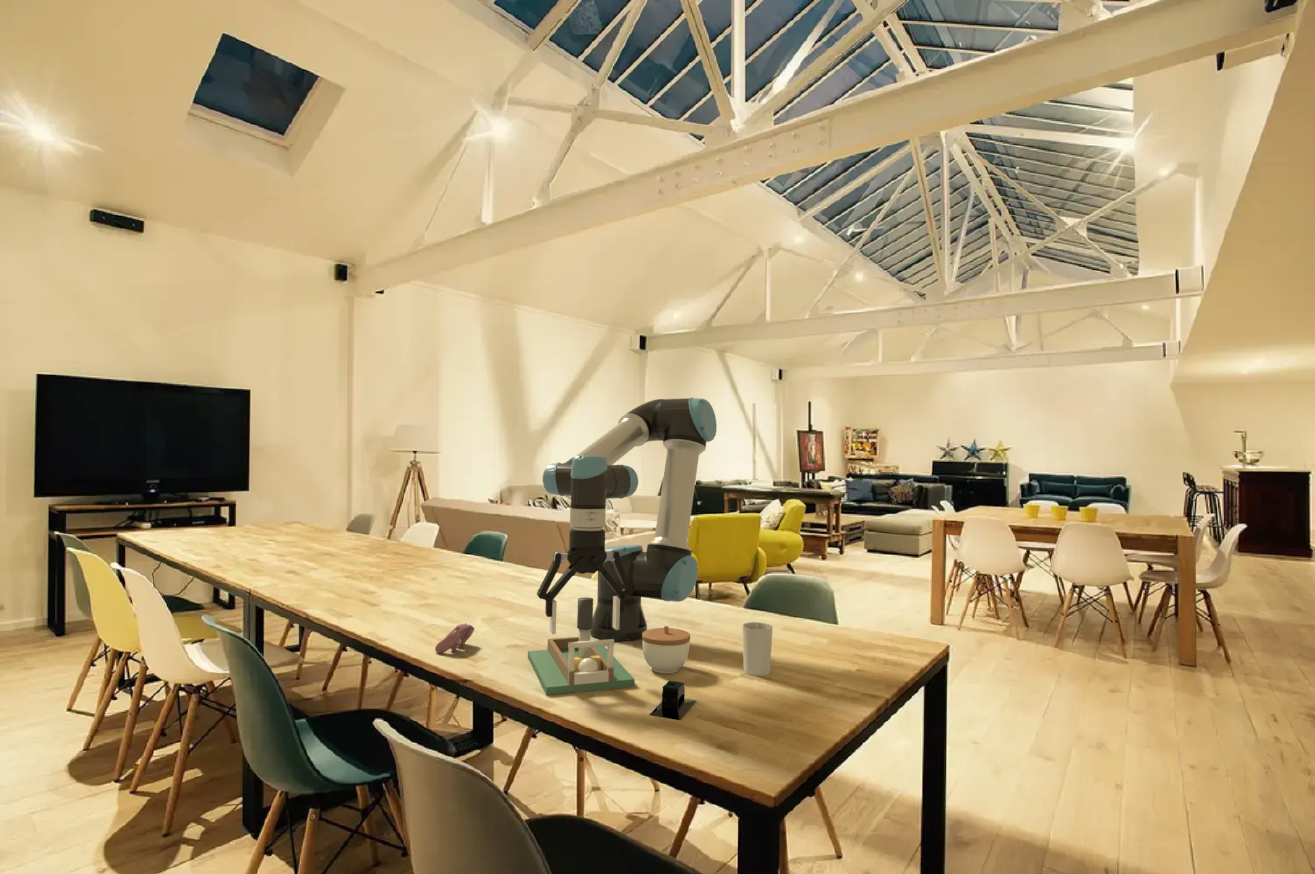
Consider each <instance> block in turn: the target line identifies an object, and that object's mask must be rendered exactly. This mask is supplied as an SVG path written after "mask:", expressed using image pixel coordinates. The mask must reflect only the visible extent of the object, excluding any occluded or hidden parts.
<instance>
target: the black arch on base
mask: <svg viewBox="0 0 1315 874" xmlns="http://www.w3.org/2000/svg"><path fill="white" fill-rule="evenodd" d="M685 691H686V690H685V682H682V681H675V680H668V681H667V682H666V683H665V684H663V686H662V693H661V702H660V703H659V704H657V706H656V707H655V708H654V709H653V710H652V711H651V712H650V713H649V716H651V717H657V718H662V719H668V720H676V721H682V719H683V718H684V717H685V716H686V714H687V713H688V712H689V711H690V709H692V708H693V706H695V704H697V700H695V699H690V698H689V699H688V698H685V697H686V696H685V693H686V692H685Z"/></svg>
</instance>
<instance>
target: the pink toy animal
mask: <svg viewBox="0 0 1315 874" xmlns="http://www.w3.org/2000/svg"><path fill="white" fill-rule="evenodd" d="M474 630H475V627H474V626H473V625H471V624H467V623H461V624H457V625H456V626H455V627H454V629H452V630H451V631H450V632H449V633H448V634H447V635H446V637H444V638H443V639H442V640H440V641H439V642H438V643H437V644H436V645H435V647H434V648H435V652H436V653H437V654H442V653H445V652H447V651H449V650H452V651H453V652H455V651H456V650H457V649H458V648H462V647H463V646H465V645H466V642H467V641H468V640H469V639H470V637H472V635H473V633H474Z"/></svg>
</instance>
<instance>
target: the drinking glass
mask: <svg viewBox="0 0 1315 874" xmlns="http://www.w3.org/2000/svg"><path fill="white" fill-rule="evenodd" d="M772 641H773V625H771V624H770V623H765V622H759V621H758V622H757V621H756V622H755V621H753V622H749V621H748V622H746V623H743V624H742V652H743V653H742V654H743V656H742V657H743V672H744V673H745V674H747V675H750V676H754V677H755V676H757V677H765V676H768V675H769V674H771V658H772V643H773V642H772Z"/></svg>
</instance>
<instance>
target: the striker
mask: <svg viewBox="0 0 1315 874" xmlns="http://www.w3.org/2000/svg"><path fill="white" fill-rule="evenodd" d="M593 615H594V598H592V597H588V596H587V597H583V596H582V597H578V598H577V615H576V616H577V618H576V619H577V620H576V621H577V622H576V624H577V625H576V627H577V629H578V637H579V642H580V641H591V634H590V630H591V629H592V627H593ZM585 658H592V659H594V660H595V661H596V662H597V664H598V671H600V664H601V657H600V656H599V655H597V656H590V647H584V648H579V649H578V657H574V672H575V673H579V670H578V668H579V664H580V662H581V661H582V660H583V659H585Z"/></svg>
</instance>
